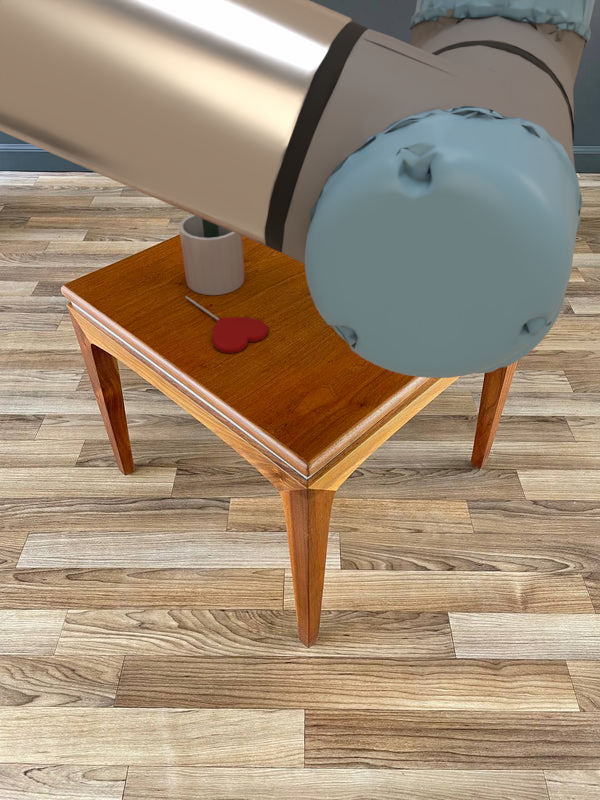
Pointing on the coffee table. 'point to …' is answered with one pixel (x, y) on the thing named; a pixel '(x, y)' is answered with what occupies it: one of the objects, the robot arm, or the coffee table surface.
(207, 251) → the canister
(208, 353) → the coffee table surface
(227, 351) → the lollipop
